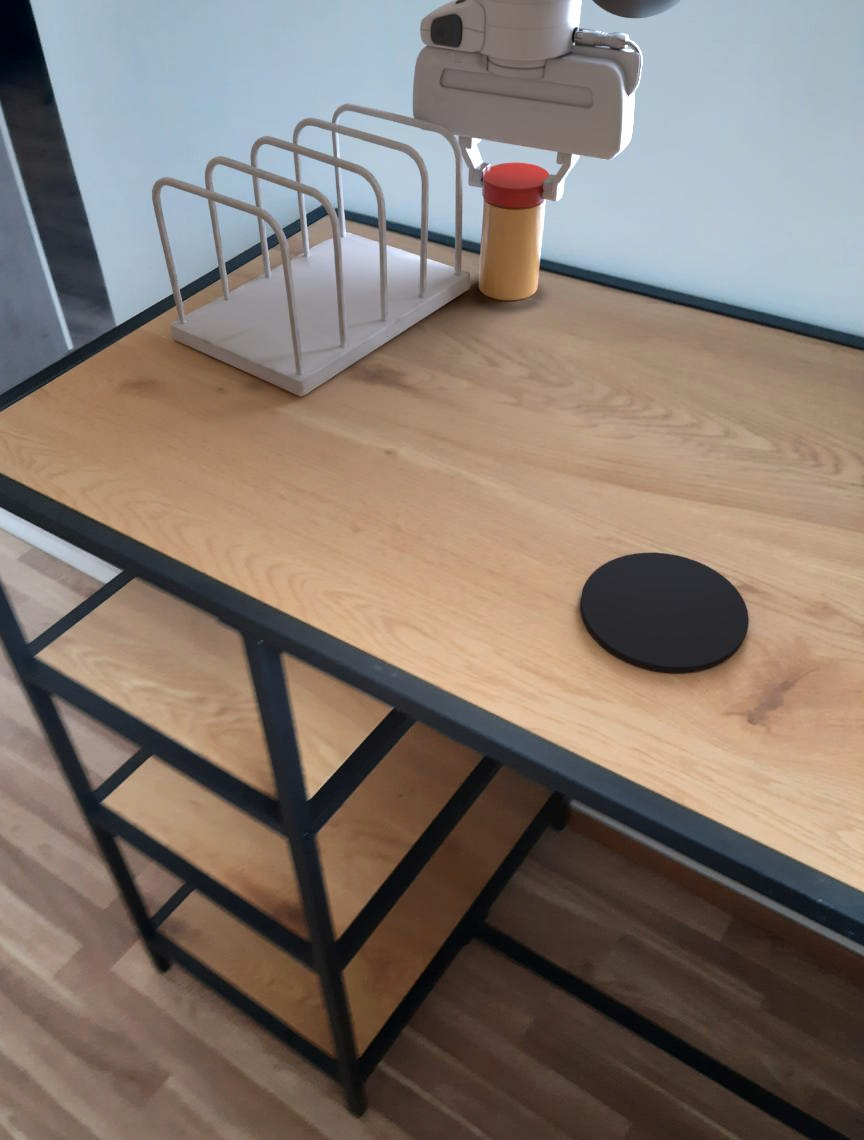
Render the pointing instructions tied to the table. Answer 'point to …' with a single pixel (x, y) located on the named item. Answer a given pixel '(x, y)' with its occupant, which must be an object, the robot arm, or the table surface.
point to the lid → (514, 184)
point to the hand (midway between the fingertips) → (514, 191)
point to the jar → (510, 250)
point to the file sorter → (317, 272)
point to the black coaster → (664, 612)
